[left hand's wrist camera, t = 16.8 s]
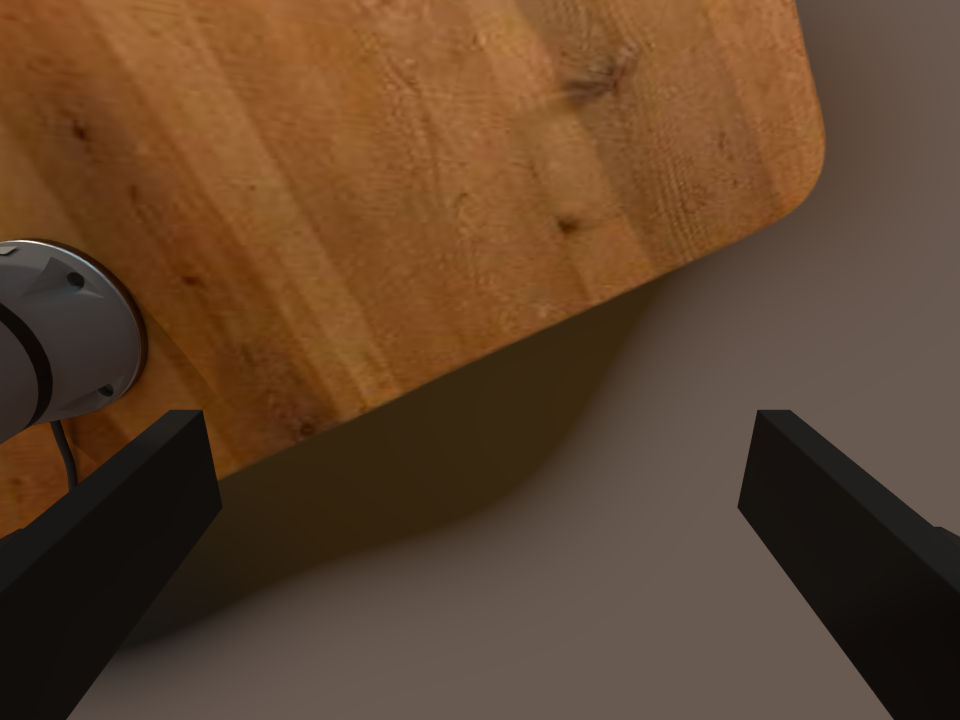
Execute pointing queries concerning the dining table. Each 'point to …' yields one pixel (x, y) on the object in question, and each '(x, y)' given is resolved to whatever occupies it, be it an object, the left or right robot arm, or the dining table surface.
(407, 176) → the dining table surface
